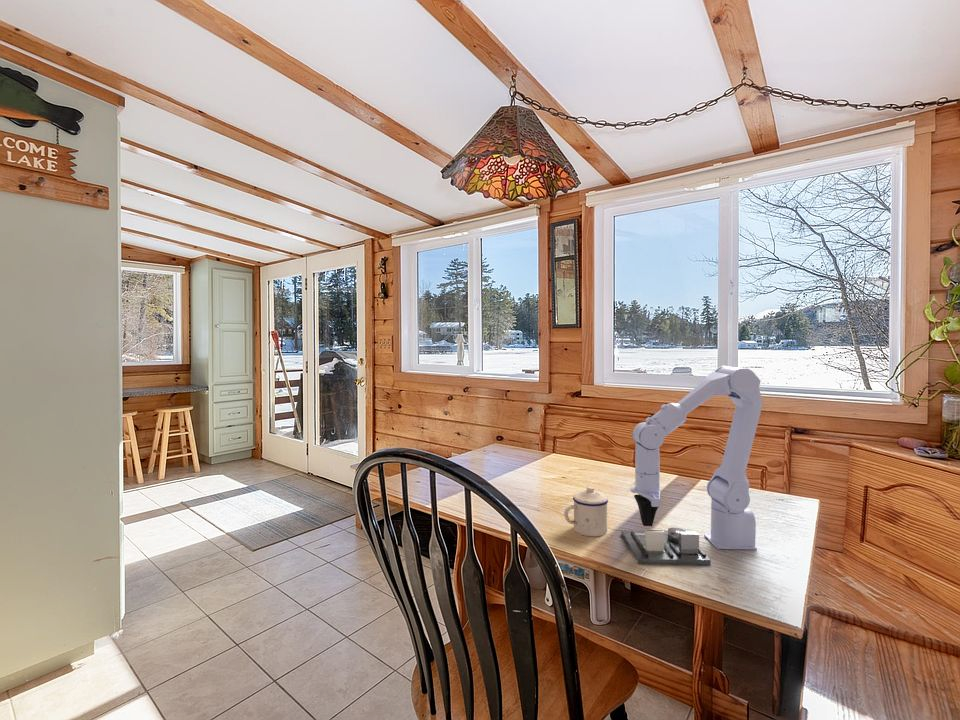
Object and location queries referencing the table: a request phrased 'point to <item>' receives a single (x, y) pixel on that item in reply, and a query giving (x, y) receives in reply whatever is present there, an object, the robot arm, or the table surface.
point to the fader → (654, 539)
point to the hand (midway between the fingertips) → (647, 525)
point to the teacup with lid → (589, 513)
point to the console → (667, 548)
